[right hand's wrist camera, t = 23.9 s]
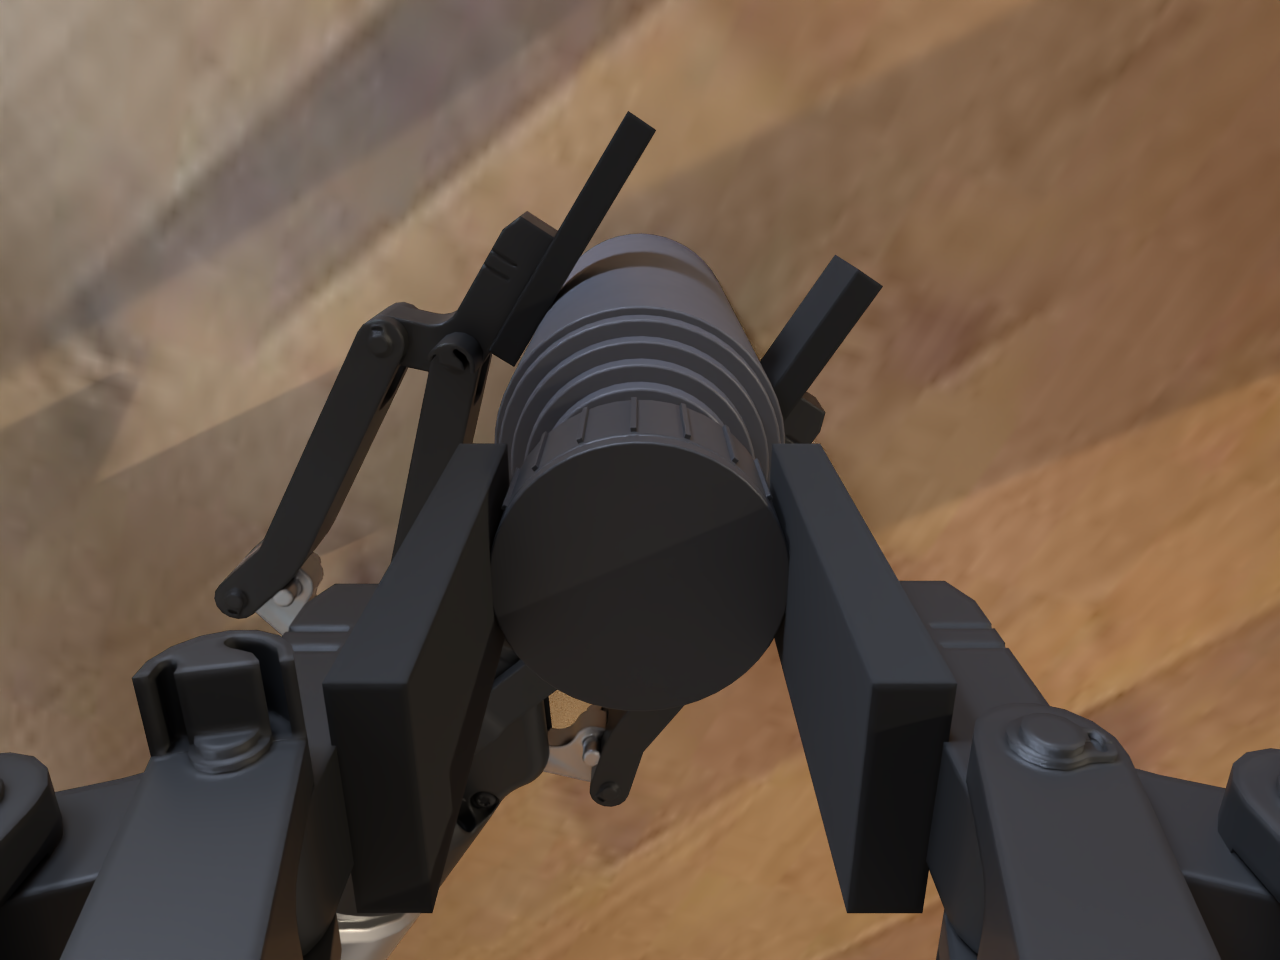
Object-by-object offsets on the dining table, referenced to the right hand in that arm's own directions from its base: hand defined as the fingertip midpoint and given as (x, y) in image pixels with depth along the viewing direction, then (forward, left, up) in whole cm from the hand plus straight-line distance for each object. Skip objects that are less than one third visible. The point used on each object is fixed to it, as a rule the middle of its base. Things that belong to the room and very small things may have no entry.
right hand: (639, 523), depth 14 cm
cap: (0, 0, +2) cm, 2 cm away
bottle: (0, 0, -16) cm, 16 cm away
